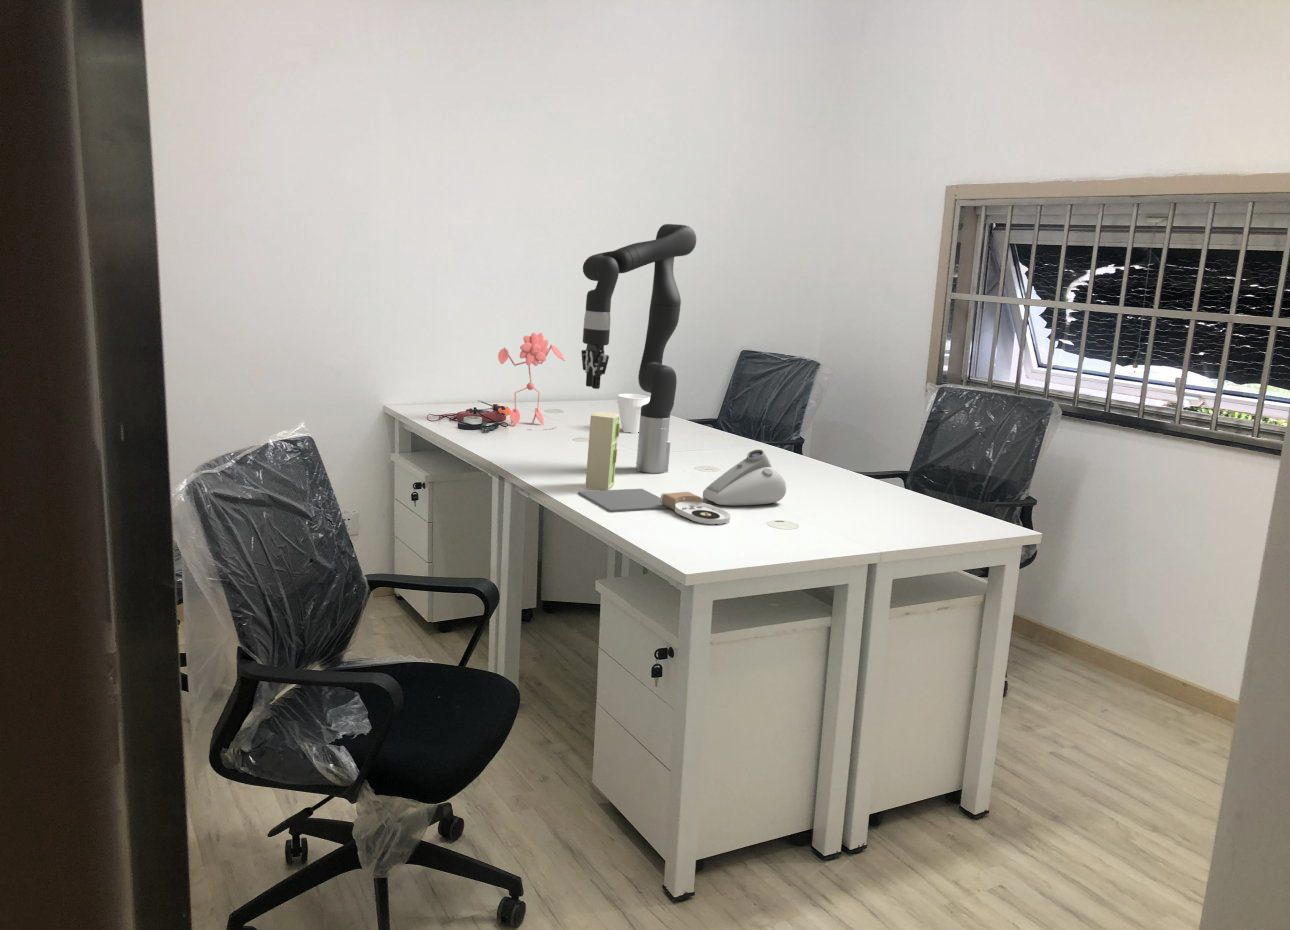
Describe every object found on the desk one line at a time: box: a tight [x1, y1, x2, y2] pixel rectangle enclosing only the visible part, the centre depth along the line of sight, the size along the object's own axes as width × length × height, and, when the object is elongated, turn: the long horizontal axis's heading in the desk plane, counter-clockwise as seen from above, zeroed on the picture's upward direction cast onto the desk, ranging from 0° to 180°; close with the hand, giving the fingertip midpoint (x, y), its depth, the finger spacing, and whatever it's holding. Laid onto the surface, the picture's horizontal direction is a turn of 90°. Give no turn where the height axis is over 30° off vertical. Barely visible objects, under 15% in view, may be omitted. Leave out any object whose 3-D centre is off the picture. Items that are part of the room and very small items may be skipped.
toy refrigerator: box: [585, 411, 621, 491], centre depth 282 cm, size 8×7×21 cm
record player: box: [660, 490, 731, 525], centre depth 261 cm, size 12×3×20 cm
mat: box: [577, 488, 672, 513], centre depth 270 cm, size 20×20×1 cm
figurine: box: [497, 332, 565, 431], centre depth 368 cm, size 15×26×35 cm, turn 125°
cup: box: [616, 393, 651, 434], centre depth 377 cm, size 12×12×14 cm
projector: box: [702, 449, 787, 506], centre depth 281 cm, size 22×23×15 cm
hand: (592, 387), depth 287 cm, fingers open, 3 cm apart
